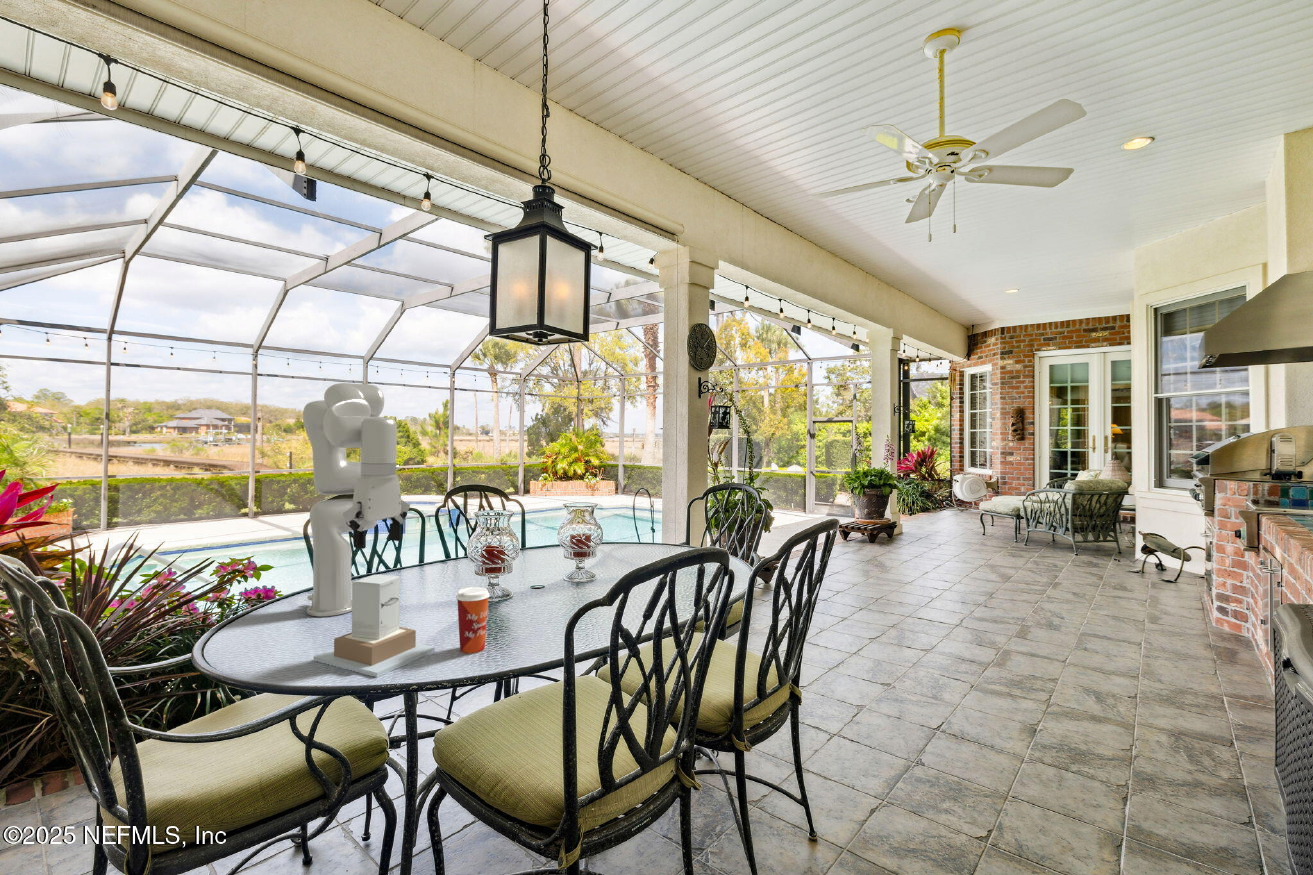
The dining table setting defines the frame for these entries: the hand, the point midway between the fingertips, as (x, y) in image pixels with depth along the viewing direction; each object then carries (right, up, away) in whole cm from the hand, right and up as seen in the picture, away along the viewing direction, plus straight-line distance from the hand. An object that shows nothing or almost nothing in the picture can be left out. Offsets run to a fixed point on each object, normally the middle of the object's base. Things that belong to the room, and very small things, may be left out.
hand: (378, 544), depth 134 cm
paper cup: (+21, -26, +3) cm, 34 cm away
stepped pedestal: (0, -26, -1) cm, 26 cm away
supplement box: (0, -21, -1) cm, 21 cm away
